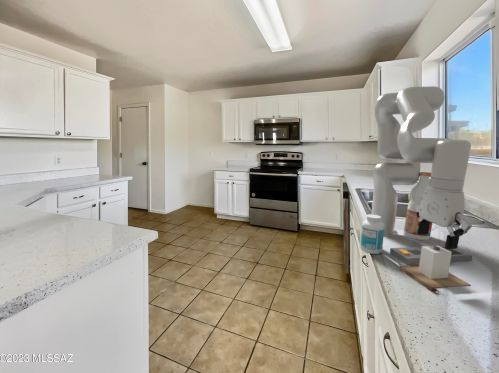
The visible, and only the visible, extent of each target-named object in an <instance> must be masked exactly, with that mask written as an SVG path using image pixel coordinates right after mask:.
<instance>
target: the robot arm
mask: <svg viewBox="0 0 499 373" xmlns="http://www.w3.org/2000/svg"><path fill="white" fill-rule="evenodd" d="M444 102H445V93H444V91H443V89H442V88H441V87H438V86H409V87H405V88H403V89H402V90H400V91H399V92H388V93H384V94H381V95H380V96H379V97H377V100H376V101H375V105H374V116H375V121H376V124H377V156H378V158H380V159H382V160H395V161H397V160H399V161H401V160H402V161H403V162H381V163H378V164H376V165H375V166H374V167H373V170H372V178H373V193H372V194H373V195H372V205H371V214H370V215H378V216H381V221H380V222H381V223H383V224H384V237H393V236H398V235H399V232H398V231H397V230H396V229H395V225H396V218H397V207H398V198H399V195H398V193H397V191H396V189H395V188H394V186H414V185H415V184H416V185H417V183H418V182H419V180H420V172H421V164H432V166H431V171H430V173H431V177H430V178H429V181H430V182H429V186H427V187H426V189H425V192H424V194H423V197H422V201H421V204H420V205H416V211H417V213H416V214H417V216H418V221H419V228H418V234H419V235H426V234H428V233H429V227H430V222H432V224H435V225H437V226H440V227H443V228H446V229H447V231H448V233H449V234H447V235H446V238H445V240H446V241H445V245H444V246H445V248H446V249H457V248H458V246H459V241H460V237H462V236H463V235H465V234H467V233H468V231H469V230H470V229H471V228H472V227H473V224H472V223H471V222H470V221H469V220H468V219H466V217H465V216H464V214H465V213H464V212H465V192H464V191H463V190H464V184H465V179H466V173H467V168H468V164H469V159H470V154H471V147H472V143H471V142H470V140H467V139H453V138H446V137H445V138H443V137H442V138H441V137H440V138H439V137H415V136H414V135H413V134H415V133H416V132H418V131H422V130H423V129H425V128H428V127H429V126H430V125H431V124H432V123H433V122H434V120H435V118H436V113H435V112H436V111H438V110H439V109H440V108H441V107H442V106H443V104H444ZM394 115H400V116H401V117H402V120H403V123H402V125H401V123H400V122H399V120H397V118H396V117H395V116H394ZM428 221H430V222H428Z"/></svg>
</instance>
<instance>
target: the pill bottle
mask: <svg viewBox="0 0 499 373" xmlns="http://www.w3.org/2000/svg"><path fill="white" fill-rule="evenodd" d="M380 221H381V216H378V215H371V214H367V215H366V219H365V220H364V221H362V224H361V233H360V234H361V235H360V246H359V248H360V250H361V251H363V252H364V253H367V254H370V255H379V254H381V253H382V252H383V247H384V246H383V245H384V237H385V236H384V224H383V223H381V222H380Z"/></svg>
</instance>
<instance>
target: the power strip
mask: <svg viewBox="0 0 499 373" xmlns="http://www.w3.org/2000/svg"><path fill="white" fill-rule="evenodd" d="M439 246H440V247H442V248H444V249H446V248H445V245H439ZM421 249H422V246H411V247H410V246H409V247H390V249H389V255H391V256H392V257H394V258H396V259H397V260H398V261H400V262H402V263H403V264H405V265H419V263H420V256H421ZM446 250H448V251H450V252H452V254H451V261H450V263H456V262H472V261H473V256H474V255H473V254H471V253H469V252H466V251H465V250H462V249H461V248H458V247H457V249H446Z"/></svg>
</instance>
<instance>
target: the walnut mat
mask: <svg viewBox="0 0 499 373" xmlns="http://www.w3.org/2000/svg"><path fill="white" fill-rule="evenodd" d="M399 270H401V271H402V272H403V273H404V272H405V275H408V277H410V278H411V279H413V280H414V281H416V282H417V283H418V284H420V285H421V286H423V287H424V288H425V287H426V289H427V290H428V291H430V292H439V290H438V289H439V288H440V289H441V288H452V287H469V286H471V284H470V283H468V282H467V281H465V280H464V279H462V278H459V277H458V276H457V275H455V274H453V273H451V272H449V273H448V278H436V279H430V278H429V277H427V276H425V275H424V274H422V273H421V272H419V271H418V270H419V264H405V265H399Z"/></svg>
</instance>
